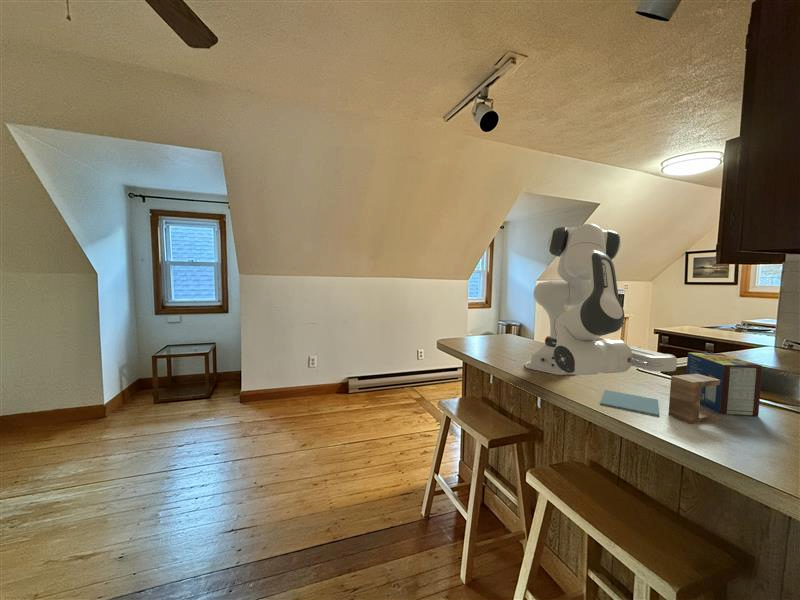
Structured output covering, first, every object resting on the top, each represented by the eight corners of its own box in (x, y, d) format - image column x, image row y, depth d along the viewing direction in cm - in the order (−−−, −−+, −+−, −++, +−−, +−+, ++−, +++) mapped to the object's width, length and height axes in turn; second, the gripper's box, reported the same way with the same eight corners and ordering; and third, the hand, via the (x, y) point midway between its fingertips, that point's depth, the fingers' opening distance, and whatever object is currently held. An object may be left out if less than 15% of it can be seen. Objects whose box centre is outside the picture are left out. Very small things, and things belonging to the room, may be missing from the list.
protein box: (717, 397, 112) (721, 353, 111) (759, 417, 97) (764, 365, 96) (683, 395, 114) (686, 352, 113) (719, 414, 99) (723, 364, 98)
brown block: (690, 424, 92) (693, 382, 91) (668, 415, 98) (671, 375, 97) (716, 420, 95) (720, 379, 94) (694, 412, 100) (697, 373, 99)
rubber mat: (600, 404, 106) (600, 402, 106) (604, 391, 118) (604, 389, 118) (659, 416, 97) (659, 414, 97) (657, 401, 109) (657, 399, 109)
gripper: (651, 353, 78) (696, 350, 81) (584, 337, 98) (622, 335, 101) (649, 379, 78) (694, 375, 81) (583, 358, 98) (621, 355, 101)
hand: (654, 353), depth 91 cm, fingers open, 8 cm apart
